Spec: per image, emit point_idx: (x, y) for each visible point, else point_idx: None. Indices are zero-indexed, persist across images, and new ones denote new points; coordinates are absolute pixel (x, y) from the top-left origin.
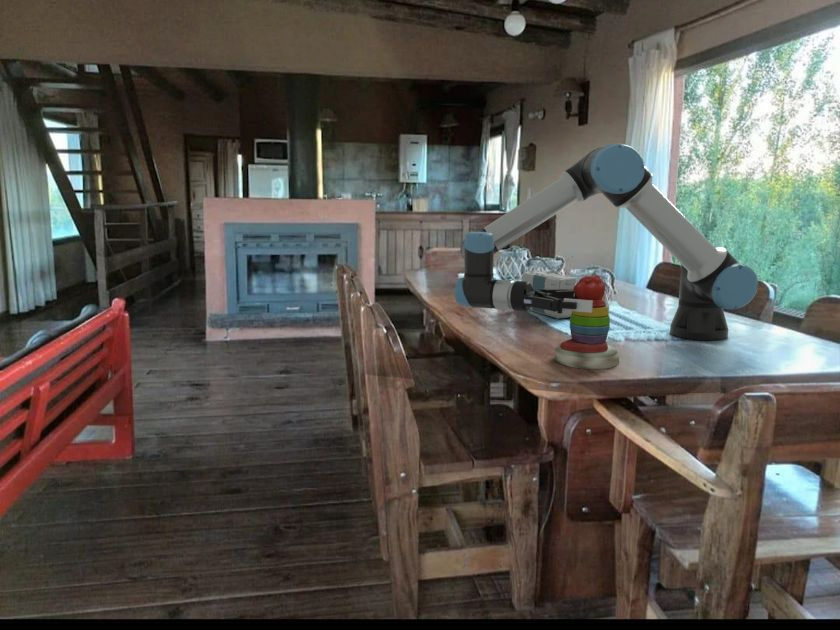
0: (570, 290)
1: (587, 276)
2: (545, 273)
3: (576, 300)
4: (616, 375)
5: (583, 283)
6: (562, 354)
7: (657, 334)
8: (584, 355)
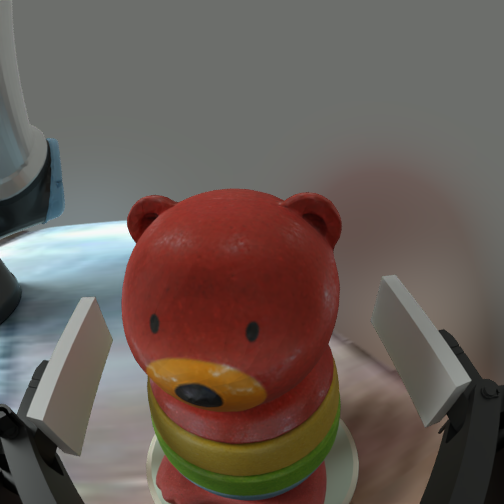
0: (19, 478)
1: (250, 208)
2: None
3: (432, 326)
4: (341, 372)
5: (330, 257)
6: (351, 498)
7: None
8: (343, 433)
